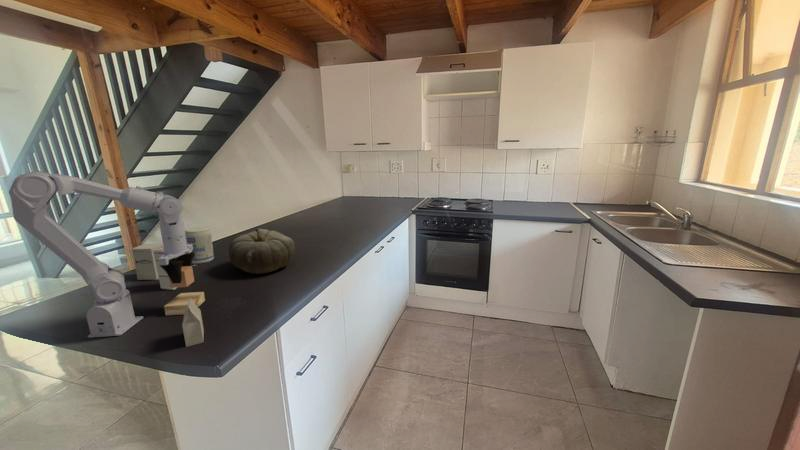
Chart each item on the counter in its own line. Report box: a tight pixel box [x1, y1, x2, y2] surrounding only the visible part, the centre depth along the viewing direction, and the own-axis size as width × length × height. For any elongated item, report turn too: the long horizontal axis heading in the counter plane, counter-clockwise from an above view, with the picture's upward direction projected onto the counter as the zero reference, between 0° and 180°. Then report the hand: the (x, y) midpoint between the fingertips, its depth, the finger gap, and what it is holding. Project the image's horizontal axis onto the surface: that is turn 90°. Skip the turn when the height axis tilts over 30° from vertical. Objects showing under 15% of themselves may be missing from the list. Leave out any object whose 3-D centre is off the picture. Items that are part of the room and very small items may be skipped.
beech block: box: [163, 291, 206, 316], centre depth 98 cm, size 9×7×3 cm
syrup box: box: [153, 248, 179, 291], centre depth 112 cm, size 6×6×14 cm
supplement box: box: [131, 243, 164, 281], centre depth 121 cm, size 7×7×13 cm
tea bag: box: [181, 298, 205, 348], centre depth 81 cm, size 4×7×10 cm, turn 31°
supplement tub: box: [185, 226, 215, 265], centre depth 139 cm, size 10×10×15 cm
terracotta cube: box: [169, 265, 195, 289], centre depth 96 cm, size 4×4×5 cm
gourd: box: [228, 228, 296, 275], centre depth 130 cm, size 25×25×17 cm
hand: (181, 279), depth 96 cm, fingers closed on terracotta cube, 4 cm apart
